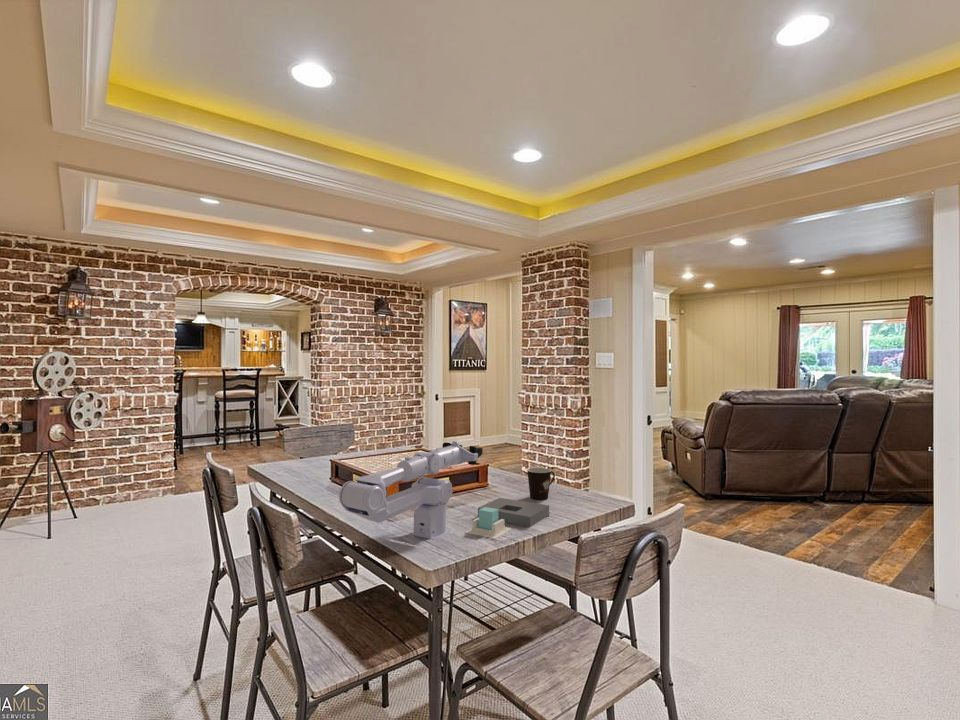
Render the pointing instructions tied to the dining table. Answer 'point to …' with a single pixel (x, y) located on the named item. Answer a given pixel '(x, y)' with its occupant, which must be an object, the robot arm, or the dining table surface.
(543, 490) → the coffee mug
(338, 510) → the dining table surface
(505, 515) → the block
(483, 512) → the plug
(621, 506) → the dining table surface
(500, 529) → the beige square holder
